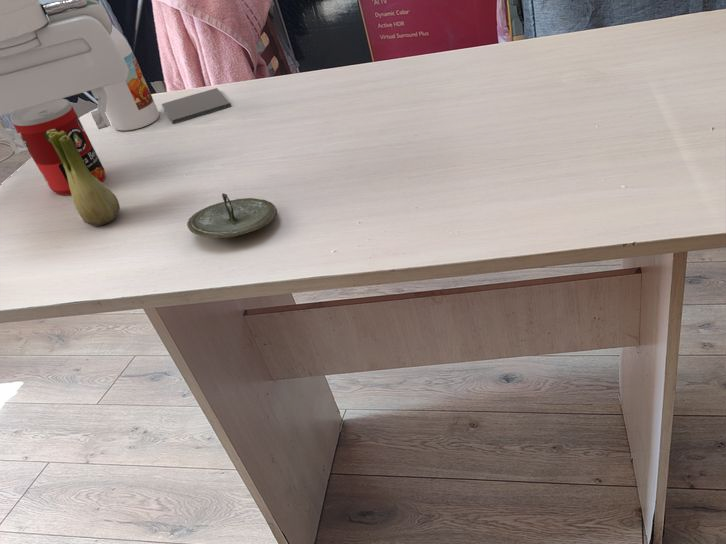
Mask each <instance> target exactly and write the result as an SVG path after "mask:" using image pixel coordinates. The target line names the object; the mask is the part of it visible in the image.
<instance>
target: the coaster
mask: <svg viewBox="0 0 726 544" xmlns="http://www.w3.org/2000/svg"><path fill="white" fill-rule="evenodd" d="M161 107H162V108H163V110H164V112H165V113H166V115H167V117H168V119H169V120H170V122H171V123H172V124H173V125H174V124H177V123H178V124H179V123H181V122H184V121H188V120H190V119H194V118H197V117H201V116H204V115H209V114H210V113H214V112H217V111H220V110H223V109H227V108H231V107H232V103H231V102H230V101H229V100H228V99H227V97H225V95H224V94H223V93H222V92H221V91H220V90H219V89H218V87H214V88H212V89H211V88H210V89H208V90H205V91H201V92H197V93H194V94H191V95H187V96H184V97H180V98H177V99H173V100H170V101H165V102H163V103H161Z"/></svg>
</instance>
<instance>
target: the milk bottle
mask: <svg viewBox="0 0 726 544" xmlns="http://www.w3.org/2000/svg"><path fill="white" fill-rule="evenodd" d="M96 1H98V2H99V3H101V2H100V0H96ZM87 3H88V5H92V4H94V3H90V2H87ZM88 5H87V6H88ZM74 9H75V8H74ZM69 10H71V9H69ZM110 36H111V37H112V39H113V40H114V42H115V44H116V45H117V47H118V49H119V51H120V52H121V54H122V56H123V58H124V60H125V62H126V64H127V66H128V68H129V74H128V77H127V79H126V80H125V81H122V82H119V83H115V84H112V85H108V86H104V87H103V88H104V90H105V92H106V95H107V102H106V112H105V114H106V116H107V118H108V120H109V122H110V124H111V125H112V127H113V128H114V129H115V130H118V131H132V130H137V129H140V128H144V127H146V126H148V125H151V124H153V123H155V122H156V121H157V120H158V118H159V117H160V112H159V110H158V107H157V105H156V103H155V100H154V98H153V96H152V94H151V91H150V89H149V86H148V84H147V81H146V79H145V77H144V75H143V72H142V70H141V68H140V66H139V63H138V61H137V58H136V57H135V54H134V52H133V50H132V48H131V46H130V44H129V43H128V41H127V40H126V38H125V36H124V35H123V34H122V33H121V31H119V30H118V29H117V28H116V26H115V25H113V24H112V32H111V34H110Z"/></svg>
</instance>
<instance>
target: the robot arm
mask: <svg viewBox="0 0 726 544" xmlns="http://www.w3.org/2000/svg"><path fill="white" fill-rule="evenodd" d="M87 2H90V3H94V4H92V5H88V3H87ZM99 2H100V1H99ZM99 2H98V1H96V0H55V1H51V2H45V3H43V4H42V3H41V2H40V0H0V117H2V116H5V115H9V114H13V113H14V112H16V111H20V110H23V109H27V108H30V107H34V106H37V105H41V104H44V103H48V102H51V101H55V100H59V99H66V98H69V97H73V96H76V95H79V94H83V93H86V92H91V95H92V97H93V98H94V99H95V100H97V109H96V110H93V111H90V114H91V117H92V119H93V121H94V122H95V125H96V127H97V129H98V130H102V129H106V128H108V127H112V126H111V125H112V124H111V121H110V120H109V117H108V115H107V113H106V102H107V95H106V92H105V90H104V88H103V87H104V86H108V85H112V84H115V83H119V82H122V81H125V80H126V79H127V77H128V74H129V68H128V66H127V64H126V62H125V60H124V58H123V56H122V54H121V52H120V51H119V49H118V47H117V45H116V44H115V42H114V40H113V39H112V37H111V36H110V34H111V32H112V25H113V23H112V20H111V18H110V15H109V14H108V12H107V9H106V8H105V6H104V5H103V4H102V3H101V2H100V3H99ZM87 5H88V6H87ZM74 8H75V9H74ZM69 9H71V10H69ZM0 138H1V139H2V140H4V141H5V142H8V145H9V146H10V147H11V149H12V150H13V152H14V154H15V155H19V154H22V153H26V152H29V146H28V144H27V143H26V141H24V137H23V136H22V134H21V133H18V132H17V133H12V132H11V131H9V130H8V129H6V128H4V126H2V119H1V118H0Z"/></svg>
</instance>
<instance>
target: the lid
mask: <svg viewBox="0 0 726 544" xmlns="http://www.w3.org/2000/svg"><path fill="white" fill-rule="evenodd" d="M221 196H222V200H223V201H221V202H218V203H214V204H212V205H208V206H206V207H204V208H202V209H200V210H198V211H197V212H195V213H193V214H192V215H191V216H190V217H189V218H188V221H187V222H186V226H187V229H188V230H189V231H190V232H191V233H192V234H194V235H196V236H197V237H198V236H199V237H201V238H207V239H208V238H209V239H221V238H222V239H223V238H230V237H232V238H233V237H236V236H237V237H238V236H241V235H245V234H248V233H251V232H255V231H256V230H257V231H258V230H260V229H261V228H263V227H265V226H267V225H269V224H270V223H271V222H273V221H274V220H275V218H277V216H278V215H277V214H278V209H277V207H276V205H275V204H274V203H273V202H271V201H269V200H266V199H260V198H253V197H244V198H236V199H231V200H230V198H229V196H228V194H227V193H222V194H221Z"/></svg>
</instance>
